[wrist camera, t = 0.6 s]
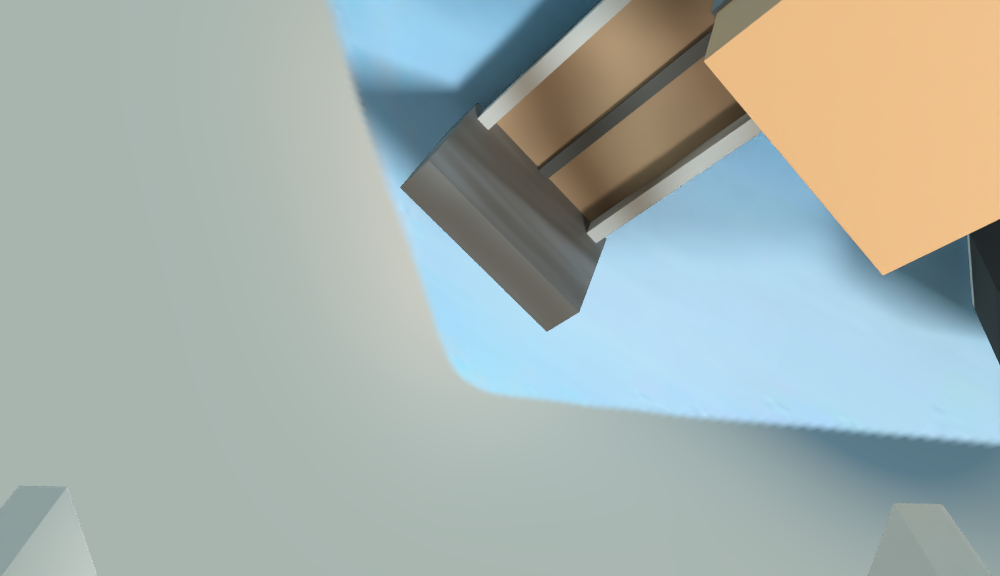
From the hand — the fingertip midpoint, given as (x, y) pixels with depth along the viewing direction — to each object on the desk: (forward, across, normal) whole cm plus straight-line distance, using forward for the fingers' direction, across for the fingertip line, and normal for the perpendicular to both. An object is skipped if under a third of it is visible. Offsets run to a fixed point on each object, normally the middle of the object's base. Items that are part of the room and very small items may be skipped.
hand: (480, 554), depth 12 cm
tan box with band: (+20, +12, +9) cm, 25 cm away
